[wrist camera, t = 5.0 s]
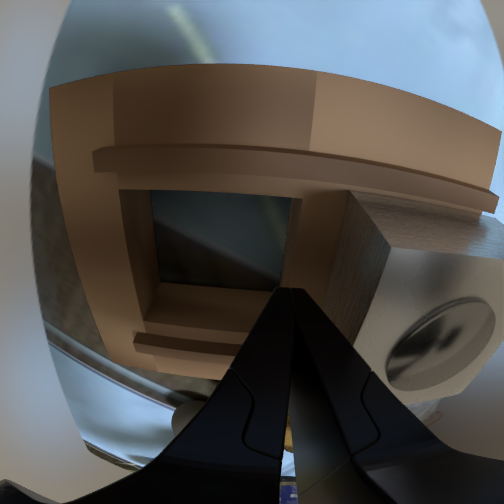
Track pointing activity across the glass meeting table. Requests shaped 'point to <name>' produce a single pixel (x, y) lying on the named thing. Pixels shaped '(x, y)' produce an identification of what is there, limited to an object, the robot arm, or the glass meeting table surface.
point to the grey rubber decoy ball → (185, 414)
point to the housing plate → (238, 185)
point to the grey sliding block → (418, 292)
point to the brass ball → (288, 437)
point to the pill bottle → (288, 490)
